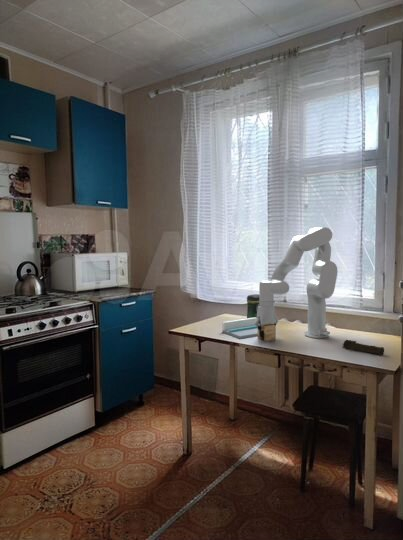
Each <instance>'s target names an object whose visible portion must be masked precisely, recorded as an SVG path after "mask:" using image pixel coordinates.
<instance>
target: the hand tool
mask: <svg viewBox="0 0 403 540" xmlns="http://www.w3.org/2000/svg"><path fill="white" fill-rule="evenodd" d="M342 348H343V349H346V350H349V351H359V352H365V353H370V354H375V355H379V356H380V357H382V356H384V353H385V348H384V347H383V346H381V347H380V346H375V345H369V344H363V343H359V342H357V341H355V340H351V339H346V340H344V341H343V343H342Z"/></svg>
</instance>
